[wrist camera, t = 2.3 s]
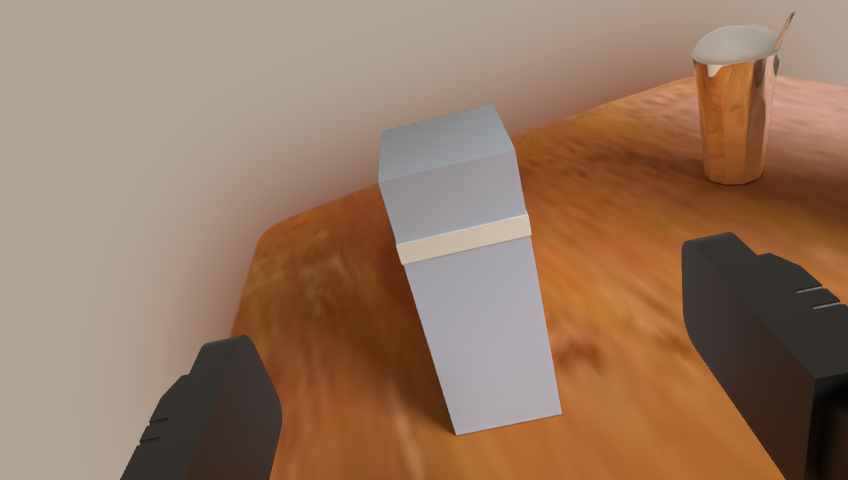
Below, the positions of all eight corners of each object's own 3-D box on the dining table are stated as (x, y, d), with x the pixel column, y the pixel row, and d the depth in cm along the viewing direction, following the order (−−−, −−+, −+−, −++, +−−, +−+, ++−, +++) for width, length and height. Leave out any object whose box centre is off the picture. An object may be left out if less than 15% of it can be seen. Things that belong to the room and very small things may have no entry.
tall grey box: (563, 414, 24) (517, 149, 19) (455, 436, 25) (376, 183, 19) (537, 336, 29) (493, 103, 23) (446, 356, 29) (380, 131, 23)
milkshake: (758, 201, 34) (765, 26, 29) (679, 179, 39) (674, 23, 34) (804, 170, 36) (818, -1, 31) (723, 152, 40) (725, 0, 35)
